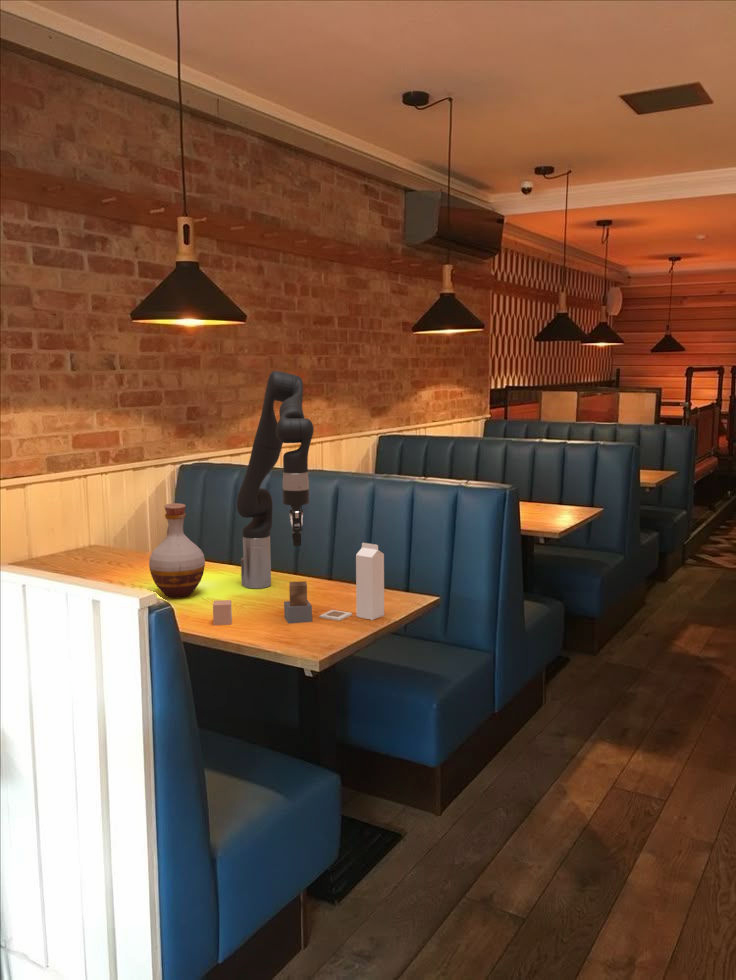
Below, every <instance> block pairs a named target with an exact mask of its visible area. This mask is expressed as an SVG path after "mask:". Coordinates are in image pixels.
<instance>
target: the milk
mask: <svg viewBox="0 0 736 980" xmlns="http://www.w3.org/2000/svg"><path fill="white" fill-rule="evenodd" d="M355 580H356V582H355V583H356V584H355V590H356V592H355V593H356V594H355V595H356V597H355V600H356V603H355V604H356V607H355V608H356V617H357V618H361V619H366V620H369V619H370V621H374V620H376V619H379V618H382V617H384V616H385V553H383V552H382V551H380V550H379V544H374V543H368V542H362V543H361V548H360V549H359V550H358V551H357V553H356V555H355Z"/></svg>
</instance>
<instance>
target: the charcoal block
mask: <svg viewBox="0 0 736 980" xmlns="http://www.w3.org/2000/svg"><path fill="white" fill-rule="evenodd" d="M283 608H284V609H283V611H284V614H283V616H284V619H285V621H286V622H287V624H288V625H289V624H290V625H291V624H303V623H312V622H313V606H312V604H311V603H310V601H309V600H308V599H307V606H290V600H285V601H283Z"/></svg>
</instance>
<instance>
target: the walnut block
mask: <svg viewBox="0 0 736 980" xmlns="http://www.w3.org/2000/svg"><path fill="white" fill-rule="evenodd" d="M288 586H289V601H290V606H307V600H308V584H307V581H306V580H305V581H289V585H288Z"/></svg>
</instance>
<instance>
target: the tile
mask: <svg viewBox="0 0 736 980" xmlns="http://www.w3.org/2000/svg"><path fill="white" fill-rule="evenodd" d="M352 615H353V612H348V611H342V610H335V609H331V610H329V611H326V612H325V613H322V614H320V615H319V618H320V619H327V620H332V621H337V622H338V621H343V620H345V619H347V618H348V617H351V616H352Z"/></svg>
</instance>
